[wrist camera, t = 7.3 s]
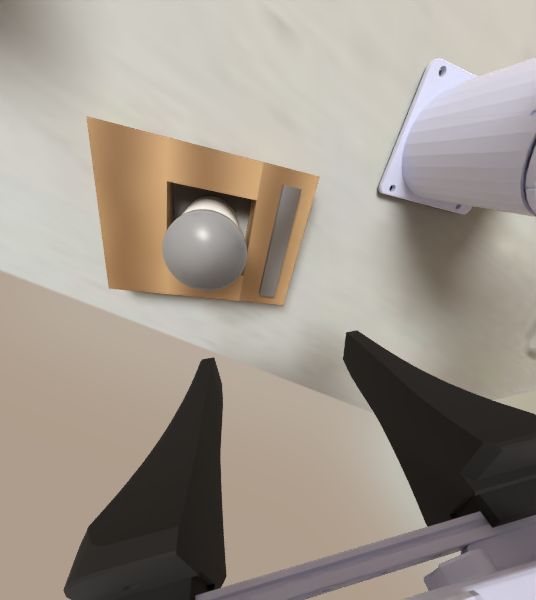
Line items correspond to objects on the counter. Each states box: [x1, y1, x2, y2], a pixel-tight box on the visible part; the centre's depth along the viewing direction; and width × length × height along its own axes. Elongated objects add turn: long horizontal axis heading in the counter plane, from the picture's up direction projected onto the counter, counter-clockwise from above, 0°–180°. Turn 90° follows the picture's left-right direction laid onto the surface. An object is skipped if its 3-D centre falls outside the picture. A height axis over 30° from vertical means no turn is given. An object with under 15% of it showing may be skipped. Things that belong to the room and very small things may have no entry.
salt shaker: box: [162, 196, 247, 291], centre depth 15 cm, size 4×4×7 cm
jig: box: [86, 116, 319, 305], centre depth 16 cm, size 13×10×3 cm
